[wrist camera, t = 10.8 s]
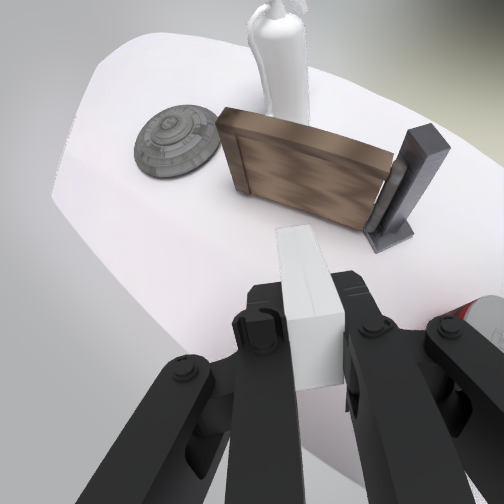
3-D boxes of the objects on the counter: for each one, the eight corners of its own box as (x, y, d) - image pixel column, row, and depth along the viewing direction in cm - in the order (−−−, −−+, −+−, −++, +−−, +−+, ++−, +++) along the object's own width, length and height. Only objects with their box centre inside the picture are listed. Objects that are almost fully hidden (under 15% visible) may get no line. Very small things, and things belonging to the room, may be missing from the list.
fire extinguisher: (242, 136, 47) (208, -7, 24) (292, 97, 50) (284, -35, 26) (274, 158, 45) (254, 3, 22) (324, 115, 47) (329, -24, 24)
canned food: (463, 379, 31) (513, 378, 21) (414, 366, 33) (456, 363, 23) (476, 323, 33) (525, 305, 23) (429, 307, 35) (471, 285, 25)
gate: (377, 221, 38) (408, 159, 26) (373, 237, 38) (404, 178, 25) (243, 176, 43) (225, 106, 30) (236, 190, 42) (214, 122, 30)
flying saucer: (242, 128, 48) (237, 104, 43) (181, 197, 45) (169, 177, 40) (177, 103, 53) (168, 82, 48) (121, 161, 50) (107, 142, 44)
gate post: (390, 200, 41) (432, 109, 24) (411, 236, 39) (471, 156, 22) (354, 214, 41) (385, 121, 24) (375, 253, 38) (425, 174, 22)
